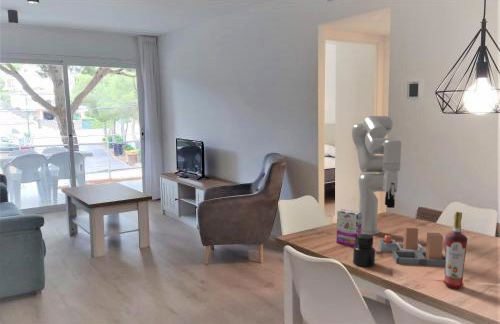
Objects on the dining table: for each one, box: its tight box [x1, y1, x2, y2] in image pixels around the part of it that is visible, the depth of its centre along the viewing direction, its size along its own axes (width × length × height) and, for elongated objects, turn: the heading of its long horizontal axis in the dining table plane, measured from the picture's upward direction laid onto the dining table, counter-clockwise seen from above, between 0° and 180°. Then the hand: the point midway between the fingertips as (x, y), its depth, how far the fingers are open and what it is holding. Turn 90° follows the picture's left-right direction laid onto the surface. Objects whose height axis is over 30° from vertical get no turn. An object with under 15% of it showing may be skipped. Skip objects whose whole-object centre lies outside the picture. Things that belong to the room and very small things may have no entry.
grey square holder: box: [378, 238, 398, 254], centre depth 197 cm, size 7×7×4 cm
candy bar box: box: [336, 209, 362, 248], centre depth 205 cm, size 11×5×16 cm, turn 47°
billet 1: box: [402, 224, 419, 250], centre depth 195 cm, size 5×5×12 cm
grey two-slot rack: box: [391, 250, 445, 267], centre depth 182 cm, size 21×10×3 cm, turn 82°
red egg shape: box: [384, 234, 393, 243], centre depth 197 cm, size 3×3×4 cm
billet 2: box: [425, 231, 444, 260], centre depth 180 cm, size 5×5×12 cm
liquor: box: [442, 211, 469, 290], centre depth 156 cm, size 7×7×28 cm
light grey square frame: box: [396, 242, 426, 252], centre depth 196 cm, size 11×11×2 cm
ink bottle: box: [352, 234, 376, 268], centre depth 180 cm, size 10×9×12 cm
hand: (389, 205), depth 195 cm, fingers open, 4 cm apart
